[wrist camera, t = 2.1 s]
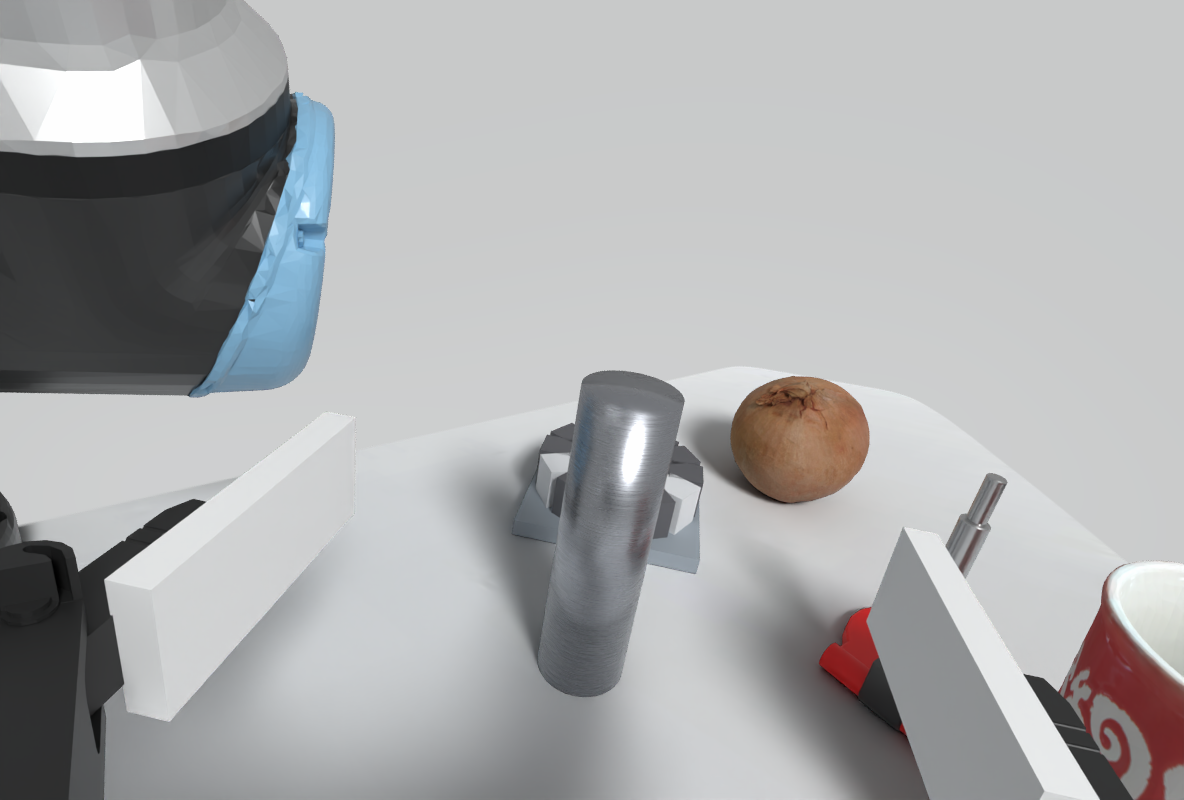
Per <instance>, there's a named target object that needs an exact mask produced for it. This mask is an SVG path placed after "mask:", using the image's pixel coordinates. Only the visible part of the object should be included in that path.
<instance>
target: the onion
mask: <svg viewBox="0 0 1184 800" xmlns="http://www.w3.org/2000/svg"><path fill="white" fill-rule="evenodd" d="M730 439H731V448H732V452H733V455H734V458H735V462H736V463H737V465H738V467H739V468H740V470H741V471H742V473H743V474H744V476H745V477H746V479H747V480H748V481H749V482H750V483H751V484H752V485H753V486H754V487H755V488H757V489H758V490H759V491H761V492H762V493H764V494H766V495H767V496H769V497H772V498H774V499H777V500H779V501H783V502H788V503H795V502H801V501H812V500H816V499H819V498H822V497H826V496H828V495H831V494H834V493H835V492H837V491H839V490H840V489H841V488H843V487H844V486H845V485H847V484H848V483H849V482H850V481H851V480H852V478H853V477H854V476H855V475H856V474H857V473H858V472H859V470H860V469H861V467H862V465H863V463H864V461H865V458H866V456H867V453H868V448H869V428H868V423H867V420H866V417H865V414H864V412H863V409H862V407H861V405H860V404H859V403H858V402H857V401H856V400H855V399H854V398H853V397H852V396H851V395H850V394H849V393H848V392H847V391H845V390H844V389H843V388H841V387H840V386H838V385H836V384H834V383H831V382H829V381H826V380H823V379H820V378H814V377H795V376H791V377H787V378H782V379H778V380H774V381H771V382H769V383H767V384H765V385H763V386H761V387H759V388H757V389H755V390H754V391H752V392H751V393H750V394H749V395H748V396H747V397H746V398H745V399H744V401H743V402H742V403H741V405H740V407H739V408H738V410H737V412H736V413H735V416H734V419H733V422H732V428H731V438H730Z"/></svg>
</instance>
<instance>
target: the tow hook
mask: <svg viewBox="0 0 1184 800" xmlns="http://www.w3.org/2000/svg"><path fill="white" fill-rule="evenodd" d="M1006 485H1007V481H1006V479H1005V478H1003V477H1001V476H999V475H997V474H993V473H989V474H987V475H986V477H985V479H984V481H983V483H982V485H981V487H980V489H979V491H978V493H977V495H976V497H975V499H974V501H973V503H972V505H971V507H970V510H969V512H968V514H962V515H960V517H959V519H958V521H957V523H956V525H955V527H954V529H953V532H952V534H951V536H950V538H949V540H948V542H947V544H946V546H945V547H946V549H947V550H948V552H949V554H950V555H951V557H952V558H953V560H954V562H955V563H956V565H957V567H958V568H959V570H960V572H961V573H962V575H963V576H964V578H965V579H966V577H967V575H968V573H969V571H970V569H971V567H972V565H973V563H974V561H975V559H976V557H977V555H978V553H979V551H980V549H981V548H982V546H983V544H984V542H985V540H986V538H987V536H988V534H989V532H990V530H991V527H990V525H989V524H988V523H987V522H988V520H989V518H990V516H991V514H992V512H993V510H994V508H995V506H996V505H997V503H998V501H999V499H1000V497H1001V495H1002V493H1003V491H1004V489H1005V487H1006ZM871 608H872V607H870V608H865V609H861V610H859V611H858V612H856V613H855V614H854V615H852V616H851V617H850V619H849V621H848V623H847V626H846V628H845V630H844V632H843V635H842V645H841V646H839V645H838V644H837V643H833V644H831V645H830V646H829V647H828V648H827V649H826V650H825V652H824V653H823V655H822V657H821V659H820V661H819V665H820V666H821V667H823V668H824V669H825V670H826V671H828V672H829V673H830V674H831V675H833V676H834V677H835V678H836V679H837V680H839V681H840V682H841V683H842V684H844V685H845V686H846V687H847V688H849V689H850V690H851V691H852V692H853V693H855V694H856V695H857V696H858V699H859V700H860V701H861V702H862V703H863V704H865V705H866V706H867V707H868V708H870V709H871V710H872V711H873V712H875V713H876V714H877V715H878V716H879V717H881V718H882V719H883V720H884V721H886V722H887V723H888V724H889V725H891V726H892V727H893V728H894V729H896V730H898V731H902V732H903V733H904V734H905V735H907V734H906V731H905V728H904V726H903V723H902V720H901V717H900V714H899V712H898V709H897V706H896V703H895V700H894V698H893V695H892V692H891V689H890V686H889V683H888V681H887V678H886V675H885V672H884V669H883V667H882V664H881V661H880V658H879V655H878V653H877V650H876V647H875V644H874V641H873V638H872V636H871V633H870V630H869V627H868V624H867V622H866V621H867V618H868V616H869V613H870V610H871Z"/></svg>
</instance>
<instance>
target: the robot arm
mask: <svg viewBox="0 0 1184 800" xmlns="http://www.w3.org/2000/svg"><path fill="white" fill-rule="evenodd" d="M302 95H303V93H298V92H295V93H293V94H289V80H288V65H287V57H286V54H285V51H284V48H283V45H282V43H281V40H280V39H279V36H278V35H277V34H276V32H275V31H274V30H273V29H272V28H271V26H270V25H269V24H268V23H267V22H266V21H265V20H264V19H263V18H262V17H261V16H260V15H259V14H258V13H257V12H256V11H255V10H253V9H252V8H251V7H250V6H249V5H248V4H247V3H246V2H245V1H244V0H0V392H17V393H19V392H20V393H74V394H75V393H76V394H134V395H135V394H136V395H187V396H189V397H202V396H206V395H208V394H209V393H214V392H233V391H253V390H269V389H274V388H278V387H281V386H283V385H286V384H288V383H290V382H291V381H293V380H294V379H295V378H296V377H297V376H298V375H299V374H300V373H301V372H302V371H303V369H304V368H305V366H306V363H307V361H308V359H309V356H310V353H311V349H312V344H313V340H314V335H315V329H316V323H317V317H318V311H319V304H320V296H321V289H322V281H323V272H324V262H325V244H324V240H325V238H326V236H327V228H328V217H329V212H330V206H331V195H332V182H333V168H334V147H335V145H334V144H335V143H334V142H335V131H334V130H335V129H334V120H333V116H332V113H331V112H330V110H329V109H328V108H327V107H326V106H325V105H323V104H321V103H320V102H315V101H313V100H311V99H310V98H309V97H307V96H302ZM355 433H356V418H355V417H350V416H345V415H341V414H336V413H331V412H324V413H323V414H322V415H321V416H319V417H318V418H317V419H315V420H314V421H313V422H311V423H310V424H309V425H307V426H306V427H305V428H303V429H302V430H301V431H300V432H298V433H297V434H296V435H294V436H293V437H292V438H290V439H289V440H288V441H286V442H285V443H284V444H283V445H281V446H280V447H279V448H277V449H276V450H275V451H273V452H272V453H271V454H269V455H268V456H266V457H265V458H264V459H263V460H261V461H260V462H259V463H257V464H256V465H255V466H253V467H252V468H251V469H249V470H248V471H247V472H245V473H244V474H243V475H241V476H240V477H239V478H237V479H236V480H235V481H234V482H232V483H231V484H230V485H228V486H227V487H226V488H224V489H223V490H222V491H220V492H219V493H218V494H216V495H215V496H214V497H212V498H211V499H210V500H208V501H207V502H205V501H200V500H196V499H192V500H189V501H187V502H184V503H182V504H179V505H177V506H174V507H172V508H169V509H167V510H165V511H163V512H162V513H160V514H159V515H158V516H156V517H155V518H153V519H152V520H151V521H149V522H148V523H146V524H145V525H144V527H143V529H141V528H139V529H138V530H137V531H135V532H134V533H132V534H131V535H130V536H128V537H127V538H126V541H121V542H120V543H118V544H117V545H116V546H114V547H113V548H111V549H110V550H109V551H107V552H106V553H104V554H103V555H102V556H100V557H99V558H97V559H96V560H95V561H93V562H92V563H90V564H89V565H88V566H86V567H85V568H83V569H82V570H81V571H79V572H78V568H77V563H76V558H75V554H74V552H73V549H72V548H71V547H69V546H67V545H65V544H64V543H62V542H54V541H47V540H42V541H29V542H22V541H21V537H20V533H19V529H18V524H17V520H16V517H15V514H14V512H13V510H12V508H11V506H10V504H9V502H8V501H7V499H6V498H5V497H4V496H3V495H2V493H1V492H0V800H104V770H105V733H106V716H105V711H104V705H103V704H104V703H105V702H106V701H107V700H108V699H109V698H110V697H111V696H112V695H113V694H114V693H115V692H116V691H118V690H119V689H120V688H121V687H123V692H124V698H125V704H126V710H127V712H130V713H134V714H138V715H143V716H147V717H151V718H155V719H159V720H163V721H168V722H170V721H171V720H172V718H173V717H174V716H175V715H176V714H177V713H178V712H179V711H180V709H181V708H182V707H183V706H184V705H185V704H186V703H187V702H188V700H189V699H190V698H191V697H192V696H193V695H194V694H195V693H196V691H197V690H198V689H199V688H200V687H201V686H202V685H203V684H204V682H205V681H206V680H207V679H208V678H209V677H210V676H211V675H212V673H213V672H214V671H215V670H216V669H217V668H218V667H219V666H220V664H221V663H222V662H223V661H224V660H225V659H226V658H227V657H228V655H229V654H230V653H231V652H232V651H233V650H234V649H235V648H236V646H237V645H238V644H239V643H240V642H241V641H242V640H243V639H244V637H245V636H246V635H247V634H248V633H249V632H250V631H251V630H252V628H253V627H254V626H255V625H256V624H257V623H258V622H259V621H260V619H261V618H262V617H263V616H264V615H265V614H266V613H267V612H268V610H269V609H270V608H271V607H272V606H273V605H274V604H275V603H276V601H277V600H278V599H279V598H280V597H281V596H282V595H283V594H284V592H285V591H286V590H287V589H288V588H289V587H290V586H291V585H292V583H293V582H294V581H295V580H296V579H297V578H298V577H299V576H300V574H301V573H302V572H303V571H304V570H305V569H306V568H307V567H308V565H309V564H310V563H311V562H312V561H313V560H314V559H315V558H316V556H317V555H318V554H319V553H320V552H321V551H322V550H323V549H324V547H325V546H326V545H327V544H328V543H329V542H330V541H331V540H332V538H333V537H334V536H335V535H336V534H337V533H338V532H339V531H340V529H341V528H342V527H343V526H344V525H345V524H346V523H347V522H348V520H349V519H350V518H351V517H352V516H353V515H354V514H355V445H356V444H355V443H356V441H355V438H356V434H355ZM866 622H867V624H868V627H869V630H870V633H871V636H872V638H873V641H874V644H875V647H876V650H877V653H878V655H879V658H880V661H881V664H882V667H883V669H884V672H885V675H886V678H887V681H888V683H889V686H890V689H891V692H892V695H893V698H894V700H895V703H896V706H897V709H898V712H899V714H900V717H901V720H902V723H903V726H904V728H905V731H906V734H907V737H908V740H909V742H910V745H911V748H912V751H913V754H914V757H915V759H916V762H917V765H918V768H919V771H920V773H921V776H922V779H923V782H924V785H925V787H926V790H927V793H928V796H929V799H930V800H1133V798H1132V797H1131V795H1130V794H1129V792H1128V791H1127V789H1126V788H1125V786H1124V785H1123V783H1122V782H1121V780H1120V779H1119V777H1118V776H1117V774H1116V773H1115V771H1114V770H1113V768H1112V766H1111V765H1110V763H1109V762H1108V760H1107V759H1106V757H1105V756H1104V755H1103V754H1100V748H1099V747H1098V745H1097V744H1096V742H1095V741H1094V739H1093V738H1092V736H1091V735H1090V733H1086V727H1085V726H1084V724H1083V723H1082V721H1081V720H1080V718H1079V717H1078V715H1077V714H1076V712H1075V711H1074V709H1073V707H1072V706H1071V704H1070V703H1069V702H1068V701H1067V700H1066V699H1065V698H1064V697H1063V696H1062V695H1061V694H1059V693H1058V692H1057V691H1056V690H1055V689H1054V688H1053V687H1052V686H1051V685H1050V684H1049V683H1048V682H1047V681H1046V680H1045V679H1044V678H1040V677H1035V676H1030V675H1025V674H1023V673H1022V671H1021V670H1020V668H1019V667H1018V665H1017V663H1016V662H1015V660H1014V658H1013V657H1012V655H1011V653H1010V652H1009V650H1008V649H1007V647H1006V645H1005V644H1004V642H1003V640H1002V639H1001V637H1000V635H999V634H998V632H997V630H996V629H995V627H994V626H993V624H992V622H991V621H990V619H989V617H988V616H987V614H986V612H985V611H984V609H983V608H982V606H981V604H980V603H979V601H978V599H977V598H976V596H975V594H974V593H973V591H972V590H971V588H970V586H969V585H968V583H967V581H966V580H965V578H964V576H963V575H962V573H961V572H960V570H959V568H958V567H957V565H956V563H955V562H954V560H953V558H952V557H951V555H950V554H949V552H948V550H947V549H946V547H945V545H944V544H943V542H942V540H941V539H940V537H939V536H938V534H936V533H931V532H926V531H921V530H916V529H911V528H906V527H903V529H902V531H901V534H900V537H899V539H898V542H897V544H896V547H895V549H894V552H893V554H892V557H891V559H890V562H889V565H888V567H887V570H886V572H885V575H884V577H883V580H882V582H881V585H880V588H879V590H878V593H877V595H876V598H875V600H874V603H873V605H872V608H871V610H870V613H869V616H868V618H867V621H866Z"/></svg>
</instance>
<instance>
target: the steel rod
mask: <svg viewBox="0 0 1184 800" xmlns="http://www.w3.org/2000/svg"><path fill="white" fill-rule="evenodd" d="M683 406H684V397H683V395H682V394H681V393H680V392H679V391H678V390H677V389H676V388H675V387H673V386H672V385H670V384H668V383H666V382H664V381H662V380H659V379H657V378H654V377H650V376H647V375H644V374H639V373H634V372H627V371H601V372H596V373H592V374H590V375H588V376H586V377H585V378H584V379H583V381H582V385H581V390H580V397H579V403H578V409H577V415H576V422H575V428H574V434H573V440H572V446H571V453H570V459H569V465H568V471H567V478H566V484H565V490H564V496H563V503H562V509H561V515H560V521H559V527H558V534H557V540H556V546H555V552H554V559H553V565H552V571H551V577H550V584H549V590H548V596H547V602H546V608H545V615H544V621H543V627H542V633H541V640H540V646H539V652H538V666H539V669H540V671H541V674H542V675H543V677H544V678H545V679H546V680H547V682H548V683H550V684H551V685H552V686H553V687H555V688H556V689H558V690H560V691H562V692H564V693H566V694H569V695H573V696H578V697H592V696H597V695H601V694H603V693H606V692H607V691H609V690H611V689H612V688H613V687H614V686H615V685H616V684H617V682H618V681H619V679H620V677H621V673H622V669H623V665H624V660H625V656H626V652H627V647H628V643H629V639H630V634H631V630H632V626H633V622H634V617H635V613H636V609H637V604H638V600H639V596H640V591H641V587H642V583H643V578H644V574H645V570H646V565H647V561H648V557H649V553H650V548H651V544H652V540H653V535H654V531H655V527H656V522H657V518H658V514H659V509H660V505H661V501H662V496H663V492H664V488H665V484H666V479H667V475H668V471H669V466H670V462H671V458H672V453H673V449H674V445H675V440H676V436H677V432H678V428H679V423H680V419H681V415H682V410H683Z"/></svg>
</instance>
